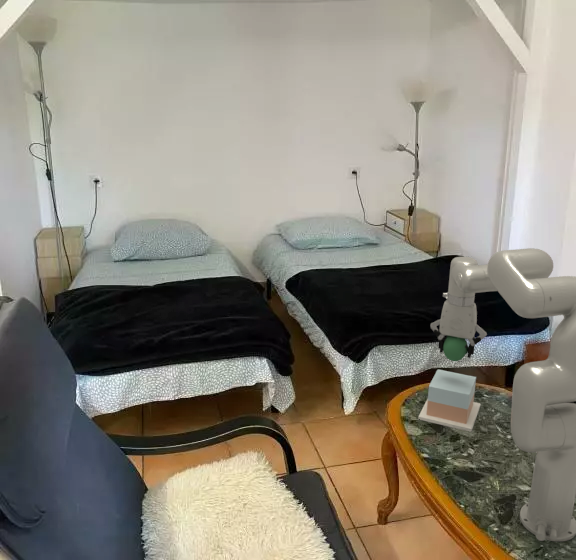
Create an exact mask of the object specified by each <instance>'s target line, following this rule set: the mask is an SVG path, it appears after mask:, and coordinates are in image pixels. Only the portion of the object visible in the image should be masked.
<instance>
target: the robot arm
mask: <svg viewBox="0 0 576 560" xmlns="http://www.w3.org/2000/svg"><path fill="white" fill-rule="evenodd" d="M553 271H554V261H553V259H552V257H551V255H549V253H548V252H546V251H545V250H543V249H539V248H529V247H528V248H519V249H518V248H516V249H503V250H500V251H497V252H494V253H493V254H492V256H491V257H490V258H489V259H488V262H487V264H478V261H477V260H476V259H475V258H473V257H469V256H456V257H454V258H452V260H451V262H450V269H449V280H448V289H447V292H442V297H443V298H445V299H446V300H445V301H444V303H443V306H442V309H441V315H440V319H437V320H435V321H434V322H431V323H430V325H429V326H430V329H431V330H432V331H433V334H434V335H435V337H437V339H438V340H437V341H438V347H437V348H438V349H439V353H440V354H441V353H444V351H443V344H444V341H445V339H446V337H448V336H453V337H458V338H464V339H465V340H467V341H468V342H469V345H468V353H467V358H468V359H470V358H471V356H472V355H474V354H475V345H477V344H478V343H480V342H482V340H483V339H485V338H486V336H487V335H488V334H487V331H485V330H484V328H482V327H480V326H479V325H478V324H477V321H478V319H477V317H478V316H477V315H478V311H477V305H476V303H475V299H476V298H475V297H476V296H475V295H476V294H478V293H486V292H498V293H499V295H500V296H501V297H502V298H503V300H505V302H506V303H507V305H508V306H509V308H511V310H512V311H513V312H514V313H515V314H517V315H518V316H519V317H522V318H524V319H525V318H526V319H538V318H550V317H556V316H558V317H559V316H563V319H561V321H560V322H559V324H558V325H557V326H556V327H555V330H554V331H553V333H552V335H551V339H550V344H549V346H550V347H549V353H548V357H547V358H546V359H545V360H537V361H530V362H526V363H524V364H522V365H521V366H520V367H519V368H518V369H517V370H516V372H515V374H514V376H513V377H514V378H513V381H512V382H513V384H512V397H511V402H512V403H511V410H510V433H511V437H512V440H513V442H514V444H515V446H516V447H517V448H518V449H520V450H521V451H523V452H526V453H536V456H535V461H534V465H533V473H532V479H531V483H530V484H531V485H530V492H529V497H528V502H527V503H525V504H524V505H523V506H521V508H520V511H519V520H520V523H521V524H522V525H523V527H524V528H525V529H526V530H528V532H530V533H531V534H533V536H534V535H535V538H536V540H538V541H541V542H543V541H545V540H547V541H550V542H560V543H562V542H567V541H569V540H571V539H573V538H574V537H575V536H576V518H575V517H574V516H573V513H574V507H575V502H576V403H574V402H576V276H573V275H571V276H570V275H564V276H561V275H560V276H551V275H552V272H553ZM437 326H439V328H438V327H437ZM476 332H477V333H478V334H479V335H478V336H476V337H475V334H476ZM445 336H446V337H445Z"/></svg>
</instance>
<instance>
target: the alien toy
mask: <svg viewBox="0 0 576 560" xmlns="http://www.w3.org/2000/svg"><path fill="white" fill-rule="evenodd" d="M467 341H468V340H467V339H464V338H458V337H453V336H446V337H445V341H444V344H443V354H444V356H445V357H446V359H448V360H449V361H451V362H459V361H461V360H463V358H464V357H465V356H466V355H468V347H469V345H468V342H467Z"/></svg>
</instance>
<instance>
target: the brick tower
mask: <svg viewBox="0 0 576 560" xmlns="http://www.w3.org/2000/svg"><path fill="white" fill-rule="evenodd" d="M476 382H477V376H473V375H467V374H463V373H458V372H453V371H449V370H448V371H447V370H443V369H437V370H436V371H435V374H434V376H433V378H432V380H431V381H430V383H429V386H428V394H427V399H426V401H425V403H424V405H423V406H422V409H421V411H420V413H419V414H418V420H419V419H420V420H419V421H424V422H428V423H432V424H437V425H441V426H445V427H450V428H453V429H457V430H462V431H464V432H465V431H466V432H470V433H472V431H473V429H474V426H475V423H476V420H477V417H478V414H479V411H480V408H481V404H482V403H480V402H475V393H476V392H475V390H476Z"/></svg>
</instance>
